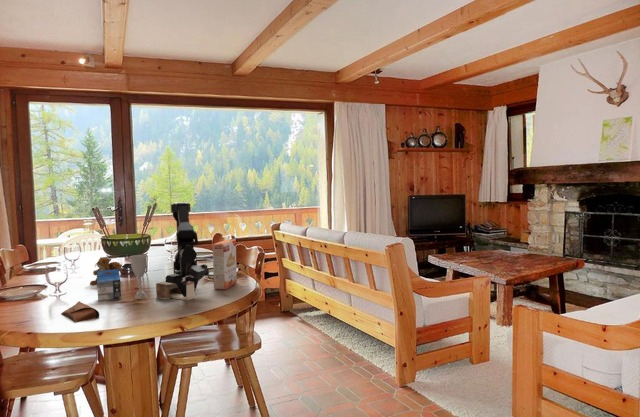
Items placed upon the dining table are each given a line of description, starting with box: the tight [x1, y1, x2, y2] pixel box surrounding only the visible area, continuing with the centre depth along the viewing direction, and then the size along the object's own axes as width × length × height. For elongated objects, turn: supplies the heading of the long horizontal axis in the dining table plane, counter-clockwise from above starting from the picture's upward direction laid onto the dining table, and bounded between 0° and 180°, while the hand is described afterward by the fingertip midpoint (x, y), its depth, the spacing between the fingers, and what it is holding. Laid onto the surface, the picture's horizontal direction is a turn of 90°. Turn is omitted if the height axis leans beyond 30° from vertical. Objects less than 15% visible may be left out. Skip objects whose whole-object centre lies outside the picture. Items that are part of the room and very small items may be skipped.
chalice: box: [129, 254, 148, 300], centre depth 193 cm, size 7×7×18 cm
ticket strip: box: [169, 281, 196, 301], centre depth 192 cm, size 15×4×7 cm, turn 57°
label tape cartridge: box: [96, 269, 122, 302], centre depth 192 cm, size 9×4×12 cm, turn 117°
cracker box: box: [212, 239, 238, 290], centre depth 210 cm, size 14×6×21 cm, turn 168°
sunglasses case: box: [60, 301, 100, 323], centre depth 170 cm, size 18×7×7 cm, turn 47°
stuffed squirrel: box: [89, 256, 123, 286], centre depth 225 cm, size 10×14×13 cm
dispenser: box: [155, 280, 182, 300], centre depth 195 cm, size 7×9×6 cm
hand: (188, 295), depth 189 cm, fingers closed on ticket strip, 4 cm apart
